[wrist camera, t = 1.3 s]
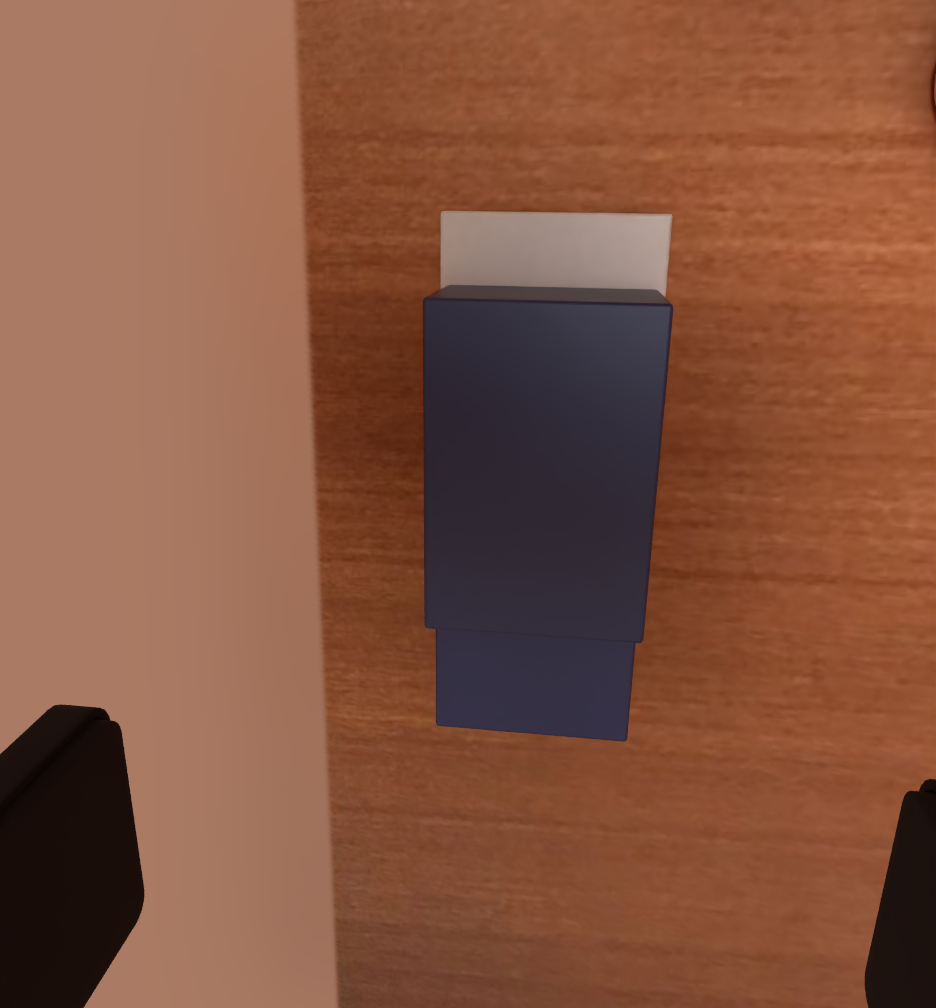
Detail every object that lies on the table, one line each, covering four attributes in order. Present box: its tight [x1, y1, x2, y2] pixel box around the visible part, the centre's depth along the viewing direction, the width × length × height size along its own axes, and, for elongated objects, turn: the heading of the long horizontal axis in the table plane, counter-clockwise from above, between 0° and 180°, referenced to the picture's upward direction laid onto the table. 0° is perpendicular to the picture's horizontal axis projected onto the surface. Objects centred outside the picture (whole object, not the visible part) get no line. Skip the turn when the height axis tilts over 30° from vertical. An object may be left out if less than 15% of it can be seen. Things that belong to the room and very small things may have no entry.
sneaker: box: [423, 211, 673, 741], centre depth 25 cm, size 16×6×6 cm, turn 179°
